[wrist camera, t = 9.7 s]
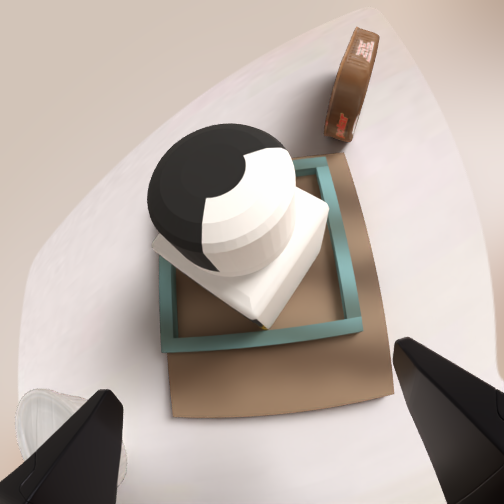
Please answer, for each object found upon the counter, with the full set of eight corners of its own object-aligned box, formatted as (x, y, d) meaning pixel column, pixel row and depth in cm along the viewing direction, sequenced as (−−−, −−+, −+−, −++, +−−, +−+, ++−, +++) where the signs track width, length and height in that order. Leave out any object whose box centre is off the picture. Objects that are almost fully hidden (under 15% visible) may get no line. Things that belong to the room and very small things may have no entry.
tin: (349, 70, 30) (354, 14, 22) (374, 76, 29) (383, 21, 21) (318, 153, 26) (322, 83, 18) (351, 163, 25) (365, 95, 17)
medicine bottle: (189, 278, 22) (97, 204, 11) (243, 205, 24) (202, 89, 12) (267, 332, 20) (233, 305, 9) (321, 249, 21) (343, 142, 10)
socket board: (389, 391, 18) (398, 395, 16) (178, 414, 20) (167, 419, 18) (342, 160, 25) (345, 145, 23) (171, 186, 27) (162, 174, 25)
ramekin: (38, 397, 21) (1, 397, 17) (111, 376, 22) (72, 376, 17) (75, 493, 17) (43, 506, 13) (158, 490, 18) (129, 514, 13)
